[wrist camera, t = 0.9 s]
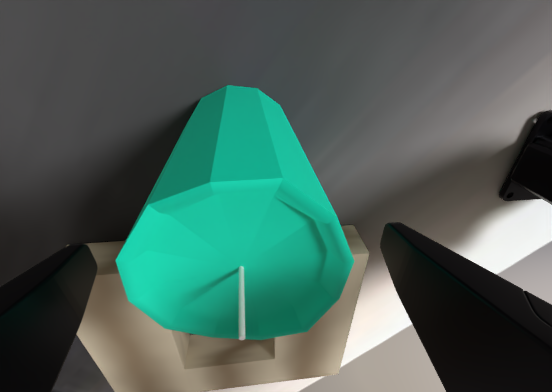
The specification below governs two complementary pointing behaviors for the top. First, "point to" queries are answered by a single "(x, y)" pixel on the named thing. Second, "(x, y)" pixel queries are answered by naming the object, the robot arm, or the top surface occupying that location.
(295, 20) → the top surface
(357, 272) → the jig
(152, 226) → the candle
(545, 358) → the robot arm
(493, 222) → the top surface
